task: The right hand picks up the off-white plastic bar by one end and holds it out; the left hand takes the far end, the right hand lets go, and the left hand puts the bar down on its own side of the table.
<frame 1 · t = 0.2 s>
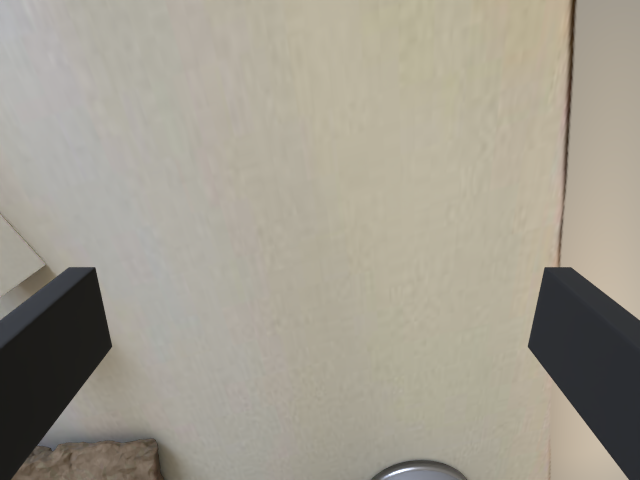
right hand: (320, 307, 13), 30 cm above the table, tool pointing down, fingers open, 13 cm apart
stone: (89, 467, 56), on the table
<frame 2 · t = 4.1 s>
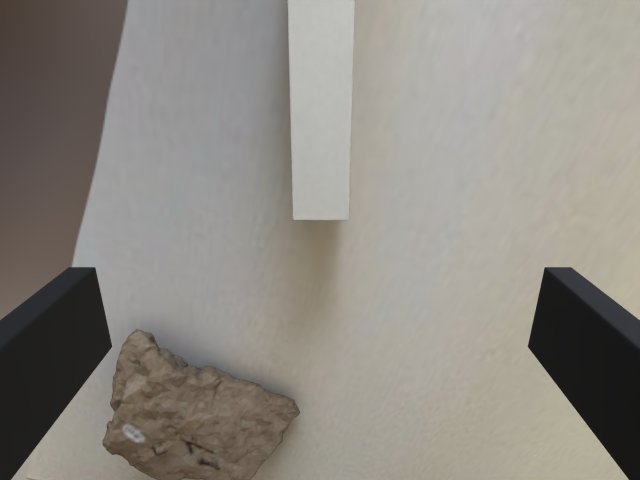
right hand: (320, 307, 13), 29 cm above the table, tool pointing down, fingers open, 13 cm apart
bar: (320, 72, 38), on the table
stone: (203, 398, 51), on the table
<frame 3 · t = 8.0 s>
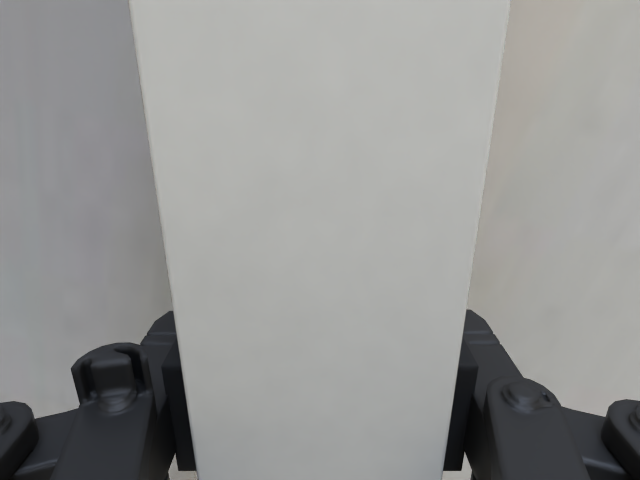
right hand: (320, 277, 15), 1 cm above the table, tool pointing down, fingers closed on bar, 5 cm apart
bar: (319, 54, 12), on the table, touching right hand
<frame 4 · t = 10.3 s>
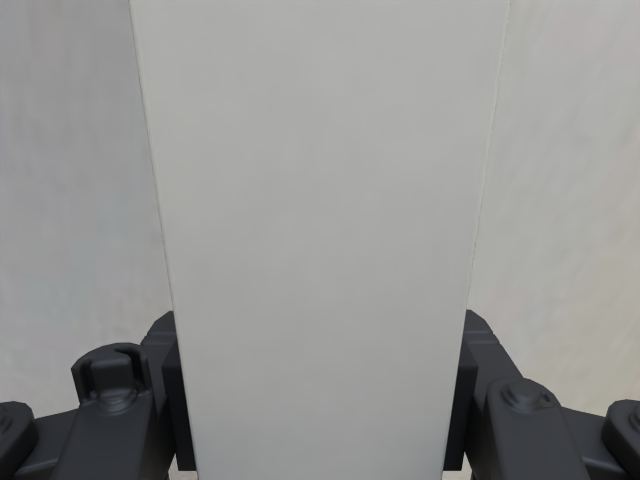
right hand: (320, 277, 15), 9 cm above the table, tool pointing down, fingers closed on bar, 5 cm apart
bar: (319, 53, 12), point 9 cm above the table, touching right hand
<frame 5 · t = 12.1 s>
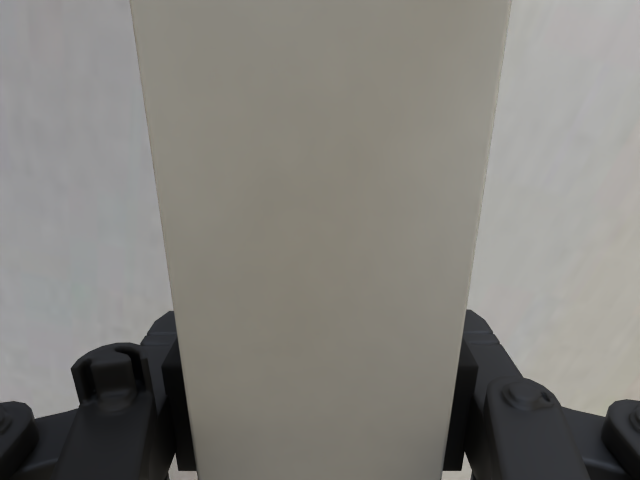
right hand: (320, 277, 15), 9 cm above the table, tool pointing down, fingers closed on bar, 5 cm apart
bar: (320, 54, 13), point 9 cm above the table, touching right hand, left hand
when the right hand's fingers open (9 cm above the table, at t = 12.7 s): bar stays where it is, held by the left hand.
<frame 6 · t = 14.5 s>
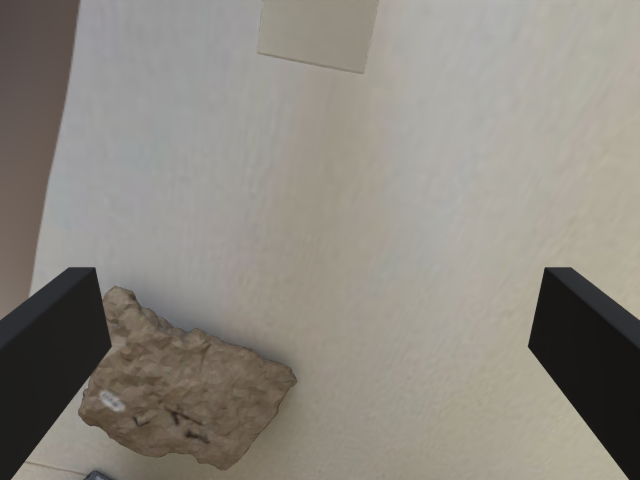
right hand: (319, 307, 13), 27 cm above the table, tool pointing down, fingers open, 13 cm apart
stone: (191, 367, 46), on the table
when the left hand's fingers open (4 cm above the table, at t = 17.4 s): bar stays where it is, on the table.
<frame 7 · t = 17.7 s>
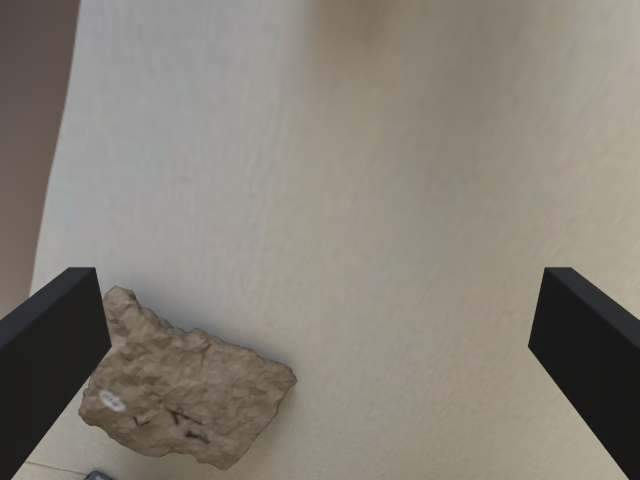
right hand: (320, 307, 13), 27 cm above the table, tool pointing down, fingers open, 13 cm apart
stone: (191, 367, 46), on the table
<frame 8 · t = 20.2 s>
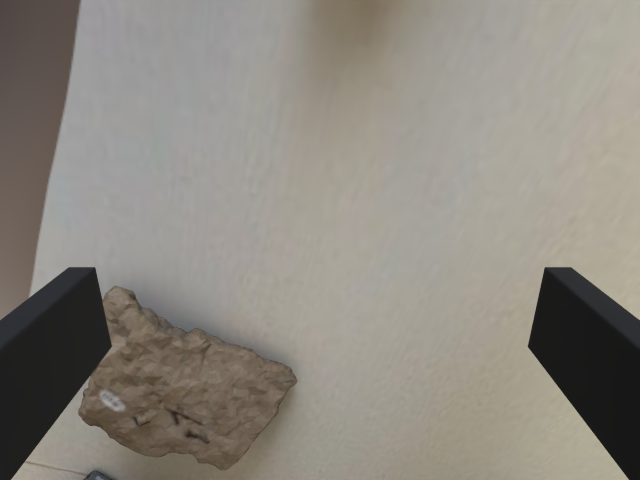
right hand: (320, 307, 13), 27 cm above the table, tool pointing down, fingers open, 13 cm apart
stone: (191, 367, 46), on the table
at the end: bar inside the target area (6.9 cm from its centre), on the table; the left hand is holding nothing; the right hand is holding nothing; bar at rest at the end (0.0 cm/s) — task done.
